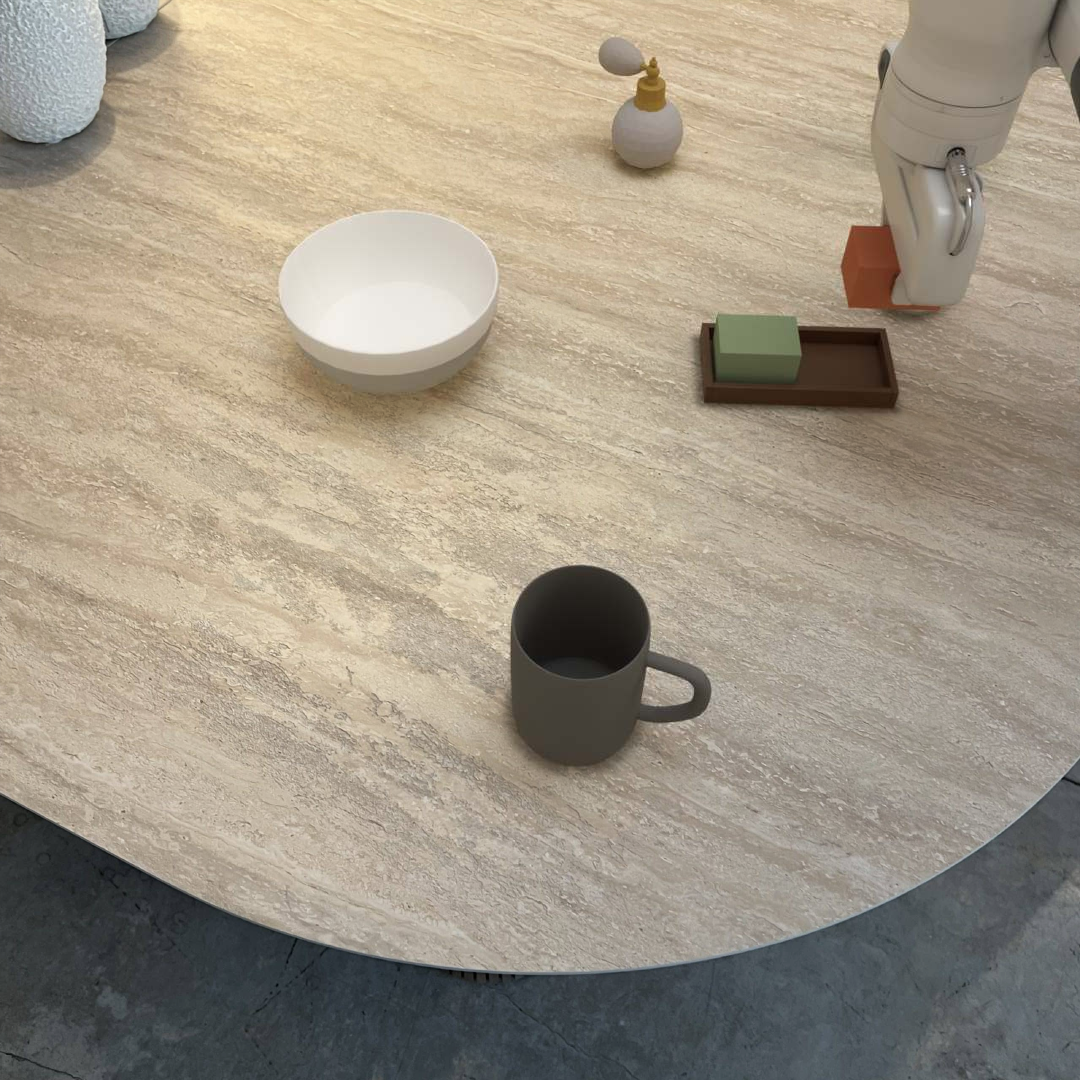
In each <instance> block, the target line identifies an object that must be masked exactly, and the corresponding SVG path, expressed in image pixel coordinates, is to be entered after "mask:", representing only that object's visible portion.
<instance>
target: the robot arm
mask: <svg viewBox="0 0 1080 1080" xmlns="http://www.w3.org/2000/svg"><path fill="white" fill-rule="evenodd" d="M1043 68H1058V69H1060V71H1061V73H1062V75H1063V77H1064V80H1065V81H1066V83H1067V85H1068V87H1069V89H1070V95H1071V98H1072V101H1073V105H1074V108H1075V112H1076V115H1077V118H1078V122H1079V123H1080V0H908V21H907V25H906V28H905V31H904V32H903V35H902V37H901V38H900V40H892V41H884V42H883V43H882V45H881V48H880V51H879V55H878V60H877V75H878V80H879V81H878V82H879V83H878V87H877V92H876V98H875V101H874V102H875V103H874V107H873V113H872V118H871V126H870V149H871V153H872V158H873V161H874V165H875V170H876V173H877V178H878V182H879V187H880V190H881V191H880V192H881V195H882V198H881V214H880V215H881V216H880V224H879V226H890V229H891V233H892V237H893V241H894V245H895V249H896V254H897V258H898V262H899V266H900V270H901V272H900V274H899V275H894V276H893V279H892V282H891V285H890V288H889V289H890V294H891V300H892V303H893V304H895V305H912V304H913V305H919V306H941V307H952V306H955V305H957V304H959V303H960V302H961V301H962V300H963V299H964V297H965V295H966V292H967V290H968V287H969V285H970V282H971V278H972V275H973V272H974V269H975V265H976V262H977V259H978V256H979V253H980V249H981V244H982V242H983V238H984V234H985V233H984V232H985V227H986V208H985V207H986V206H985V201H984V202H983V199H982V196H981V193H980V189H979V186H978V183H977V180H976V177H975V174H974V171H973V170H975V169H976V167H979V166H982V165H985V164H988V163H989V162H991V161H993V160H994V159H996V158H997V157H998V156H999V155H1000V154H1001V153H1002V151H1003V149H1004V147H1005V145H1006V143H1007V139H1008V138H1009V134H1010V133H1011V129H1012V126H1013V124H1014V122H1015V118H1016V115H1017V113H1018V110H1019V108H1020V105H1021V103H1022V100H1023V97H1024V95H1025V92H1026V89H1027V86H1028V84H1029V81H1030V79H1031V78H1032V76H1033V75H1034V73H1036V72H1037V71H1038V70H1041V69H1043Z"/></svg>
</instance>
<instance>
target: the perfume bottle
mask: <svg viewBox="0 0 1080 1080" xmlns="http://www.w3.org/2000/svg"><path fill="white" fill-rule="evenodd" d="M597 56H598V62H599V64H600V66H601V67H602V69H603V70H604V71H606V72H607V73H609V74H611V75H613V76H619V77H632V76H636V75H638V74H640V73H641V72H644V71H645V74H646V75H644V76H641V77H639V79H638V80H637V82H636V93H635V95H634V96H632V97H630V98H628V99H626V100H625V101H624V102H623V103H622V105H621V106H620V107H619V108H618V110H617V111H616V113H615V115H614V116H613V121H612V126H611V130H610V131H611V141H612V144H613V146H614V149H615V151H616V153H617V154H618V155H619V157H621V159H622V160H623V161H625V162H626V163H627V164H628V165H629V166H633V167H635V168H637V169H652V168H653V169H654V168H659V167H661V166H662V165H665V164H666V163H668V162H669V161H670V160H671V159H672V158H673V157H674V156H675V155H676V153H677V152H678V150H679V148H680V146H681V144H682V139H683V135H684V126H683V125H684V124H683V119H682V116H681V114H680V110H679V109H678V108H677V107H676V106H675V104H674V103H673V102H672V101H671V100H669V99H668V98H667V97H666V88H667V83H666V80H665V79H664V78H662V77H661V76H660V74H661V72H660V67H659V66H658V61H657V57H656V56H652V57H651V59H650V60H649V64H646V61H645V57H644V55H643V54H642V51H640V49H639V48H638V47H637V46H636V45H635V44H634V43H632V42H631V41H629V40H628V39H625V38H623V37H620V36H613V37H609V38H607V39H605V40H604V41H603V42H602V43H601V45H600V47H599V49H598V54H597Z"/></svg>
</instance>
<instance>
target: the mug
mask: <svg viewBox="0 0 1080 1080" xmlns="http://www.w3.org/2000/svg"><path fill="white" fill-rule="evenodd" d="M651 627H652V623H651V616H650V612H649V609H648V606H647V604H646V601H645V599H644V598H643V596H642V594H641V593H640V592H639V591H638V589H636V587H635V586H634V585H633V584H632V583H630V581H628V580H627V579H626V578H624V577H623V576H621V575H620V574H617V573H616V572H614V571H612V570H609V569H607V568H603V567H599V566H595V565H588V564H570V565H569V564H568V565H563V566H559V567H556V568H553V569H550V570H548V571H545V572H543V573H541V574H540V575H538V576H537V577H535V578H534V579H532V580H531V581H529V583H528V584H527V585H526V586H525V587H524V589H523V590H522V591H521V593H520V594H519V596H518V598H517V599H516V602H515V604H514V606H513V609H512V614H511V621H510V633H509V634H510V637H509V638H510V639H509V642H510V643H509V646H510V649H509V656H510V657H509V659H510V688H511V689H510V692H511V705H512V714H513V720H514V722H515V726H516V729H517V731H518V733H519V735H520V737H521V739H523V741H524V743H525V744H526V745H527V746H528V747H529V748H530V749H531V750H532V751H533V752H535V753H536V754H537V755H538V756H540V757H541V758H543V759H545V760H548V761H549V762H552V763H554V764H558V765H562V766H567V767H587V766H591V765H595V764H598V763H601V762H604V761H606V760H607V759H609V758H611V757H613V756H614V755H616V754H617V753H618V752H619V751H620V750H622V748H624V746H625V745H626V744H627V743H628V741H629V740H630V738H631V736H632V735H633V732H634V730H635V727H636V724H637V722H638V721H642V722H646V723H650V724H651V723H652V724H669V723H677V722H678V723H680V722H684V721H689V720H693V719H695V718H697V717H700V716H701V715H702V714H703V713H704V712H705V711H706V710H707V708H708V707H709V705H710V701H711V698H712V697H711V696H712V691H713V689H712V684H711V681H710V679H709V677H708V675H707V674H706V672H705V671H704V670H702V669H701V668H700V667H698V666H695V665H694V664H692V663H689V662H687V661H683V660H681V659H678V658H674V657H671V656H668V655H665V654H662V653H658V652H656V651H652V650H650V647H651V637H652V635H651V633H652V628H651ZM647 668H649V669H653V670H657V671H659V672H662V673H665V674H668V675H672V676H675V677H678V678H680V679H682V680H685V681H686V682H687V683H689V684H690V685H691V686H692V688H693V696H692V698H691V700H689V701H687V702H683V703H679V704H673V705H662V706H661V705H650V704H646V703H642V698H643V692H644V687H645V681H646V675H647Z"/></svg>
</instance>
